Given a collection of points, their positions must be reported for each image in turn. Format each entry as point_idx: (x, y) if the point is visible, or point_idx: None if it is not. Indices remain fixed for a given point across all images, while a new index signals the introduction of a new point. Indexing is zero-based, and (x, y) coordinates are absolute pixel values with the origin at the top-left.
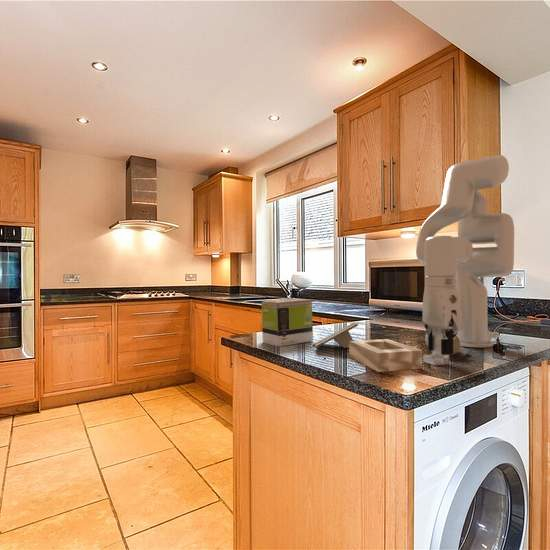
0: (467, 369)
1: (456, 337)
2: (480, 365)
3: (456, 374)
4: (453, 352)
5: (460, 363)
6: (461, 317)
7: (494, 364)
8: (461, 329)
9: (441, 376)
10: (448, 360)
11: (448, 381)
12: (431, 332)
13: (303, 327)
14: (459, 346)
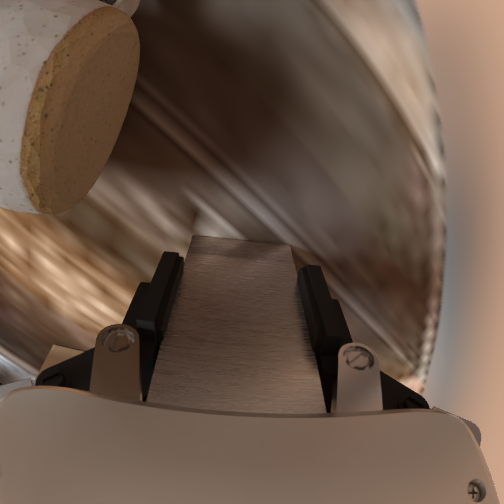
0: (397, 238)
1: (94, 43)
2: (384, 105)
3: (407, 326)
4: (134, 72)
5: (302, 169)
6: (495, 492)
7: (398, 17)
8: (474, 427)
9: (387, 373)
10: (292, 258)
11: (421, 379)
12: (144, 394)
13: None
14: (132, 21)
